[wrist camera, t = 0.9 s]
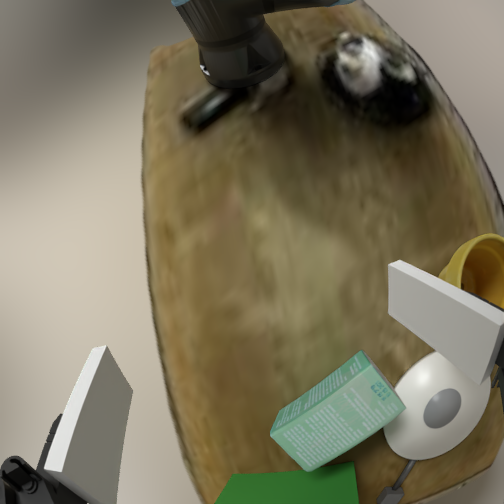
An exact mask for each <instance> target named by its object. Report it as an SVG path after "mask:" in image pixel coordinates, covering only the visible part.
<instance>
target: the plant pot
mask: <svg viewBox="0 0 504 504" xmlns="http://www.w3.org/2000/svg"><path fill="white" fill-rule="evenodd" d="M438 278H439V279H441V280H443V281H445V282H447V283H449V284H451V285H453V286H455V287H457V288H459V289H461V286H462V290H464V291H468V292H472V293H475V294H476V295H478V296H480V297H482V299H483V298H484V299H486V300H488V301H489V303H490V302H492V303H494V304H495V305H497V306H499V307H501V308H503V309H504V238H503V237H501V236H499V235H497V234H491V233H488V234H483V235H480V236H478V237H476V238H473V239H471V240H469V241H468V242H466V243H464V244H463V245H462V246H460V247H459V248H458V249H457V251H456V252H455V253H454V255H453V257H452V258H451V260H450V263H449V264H448V265H447V266H446V267H445V268H444V269H443V270H442V271H441V272H440V274H439V276H438Z"/></svg>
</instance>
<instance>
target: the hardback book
mask: <svg viewBox="0 0 504 504" xmlns="http://www.w3.org/2000/svg"><path fill="white" fill-rule="evenodd" d="M214 504H359V500H358V491H357V483H356V475H355V468H354V461H351V462H347V463H342V464H337V465H331V466H326V467H320V468H316V469H315V470H313V471H310V472H307V471H305V470H298V471H288V472H276V473H258V474H232V476H231V478H230V479H229V481H228V483H227V484H226V486H225V488H224V489H223V491H222V492H221V494H220V496H219V497H218V499H217V500H216V502H215V503H214Z"/></svg>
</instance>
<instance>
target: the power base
mask: <svg viewBox="0 0 504 504" xmlns="http://www.w3.org/2000/svg"><path fill="white" fill-rule="evenodd" d="M490 387H491V380H490V376H489V377H488V378H487V379H486V380H485V381H484V382H483V383H482V384H481V385H480V386H479V385H478V384H477V383H475V382H474V381H473V380H472V379H471V378H469V377H468V376H467V375H466V374H465V373H463V372H462V371H461V370H460V369H458V368H457V367H456V366H455V365H453V364H452V363H451V362H450V361H449V360H447V359H446V358H445V357H443V356H442V355H441V354H440V353H438V352H437V351H433V352H431V353H429V354H427V355H426V356H424V357H423V358H421V359H420V360H418V361H417V362H416V363H415V364H413V365H412V366H411V367H410V368H409V369H408V370H407V371H406V372H405V373H404V375H403V376H402V377H401V378H400V379H399V381H398V382H397V383H396V385H395V387H394V390H395V391H396V393H397V394H398V396H399V397H400V399H401V400H402V402H403V403H404V405H405V406H406V409H405V410H404V411H403V412H402V413H400V414H399V415H398V416H397V417H396V418H394V419H393V420H392V421H390V422H389V423H388V424H386V425H385V426H384V427H383V430H384V434H385V437H386V440H387V442H388V444H389V446H390V447H391V449H392V450H393V451H394V452H395V453H397V454H398V455H400V456H402V457H404V458H407V459H410V461H409V463H408V464H407V466H406V467H405V469H404V471H403V472H402V474H401V475H400V477H399V478H398V480H397V481H396V483H395V484H394V486H393V487H385V488H384V490H383V491H382V493H381V494H380V495H379V497H378V498H377V504H397V503H398V502H399V501H400V499H401V498H402V497H403V496H404V492H403V489H402V487H399V486H400V485H401V484H402V482H403V481H404V479H405V478H406V476H407V475H408V473H409V472H410V470H411V469H412V467H413V465H414V464H415V462H416V460H424V459H429V458H433V457H436V456H439V455H441V454H443V453H445V452H447V451H449V450H451V449H452V448H454V447H455V446H457V445H458V444H459V443H460V442H462V441H463V440H464V439H465V438H466V437H467V436H468V435H469V434H470V432H471V431H472V430H473V429H474V428H475V426H476V425H477V423H478V422H479V420H480V419H481V417H482V415H483V413H484V411H485V408H486V406H487V403H488V399H489V395H490Z"/></svg>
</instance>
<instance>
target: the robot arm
mask: <svg viewBox="0 0 504 504" xmlns="http://www.w3.org/2000/svg"><path fill="white" fill-rule="evenodd" d="M354 1H356V0H172V4H173V6H175V7H176V9H177V10H178V12H179V14H180V15H181V17H182V18H183V20H184V22H185V23H186V25H187V27H188V28H189V30H190V32H191V33H192V34H193V37H194V38H195V40H196V42H197V43H198V50H199V60H200V67H201V70H202V72H203V74H204V76H205V77H206V79H207V80H208V81H209V82H210V83H211V84H213V85H215V86H218V87H222V88H241V87H247V86H251V85H254V84H257V83H259V82H261V81H264V80H266V79H267V78H269V77H271V76H272V75H273V74H275V73H276V72H277V71H278V70H279V69H280V67H281V66H282V64H283V62H284V59H285V53H284V49H283V45H282V43H281V41H280V39H279V38H278V37H277V35H276V34H275V33H274V32H273V30H272V29H271V28H270V27H269V25H268V24H267V23H266V22H265V19H264V15H263V14H267V13H273V12H279V11H285V10H293V9H301V8H311V7H323V6H324V7H330V6H331V7H332V6H335V5H344V4H350V3H352V2H354ZM388 275H389V307H388V314H389V315H391V316H392V317H393V318H395V319H396V320H397V321H399V322H400V323H401V324H402V325H404V326H405V327H406V328H408V329H409V330H410V331H412V332H413V333H414V334H415V335H417V336H418V337H419V338H421V339H422V340H423V341H424V342H426V343H427V344H428V345H430V346H431V347H432V348H433V349H435V350H436V351H437V352H438V353H440V354H441V355H442V356H443V357H445V358H446V359H447V360H449V361H450V362H451V363H452V364H453V365H455V366H456V367H457V368H458V369H460V370H461V371H462V372H463V373H465V374H466V375H467V376H468V377H469V378H471V379H472V380H473V381H474V382H475V383H477V384H478V385H479V386H480V385H481V384H482V383H483V382H484V381H485V380H486V379H487V378H488V377H489V376H490V375H491V372H492V370H493V367H494V365H495V364H497V365H498V366H499V368H498V370H497V373H496V375H495V377H494V380H493V382H492V387H491V388H494V386H495V384H496V382H497V380H499V382H498V385H497V387H500V391H501V397H502V404H503V412H504V309H503V308H501V307H499V306H497V305H495V304H494V303H492V302H490V303H489V301H488V300H486V299H484V298H483V299H482V297H480V296H478V295H476V294H475V293H472V292H468V291H464V290H461V289H459V288H457V287H455V286H453V285H451V284H449V283H447V282H445V281H443V280H441V279H439V278H437V277H435V276H433V275H431V274H429V273H427V272H425V271H423V270H420V269H418V268H416V267H414V266H412V265H410V264H408V263H406V262H403V261H401V260H398V261H396V262H393V263H391V264H388ZM132 394H133V390H132V388H131V387H130V385H129V383H128V382H127V380H126V378H125V377H124V375H123V374H122V372H121V370H120V368H119V367H118V365H117V363H116V361H115V360H114V358H113V356H112V354H111V353H110V351H109V349H108V347H107V345H106V346H102V347H96V348H93V349H92V351H91V353H90V355H89V357H88V359H87V361H86V363H85V365H84V367H83V370H82V372H81V374H80V376H79V378H78V380H77V383H76V385H75V387H74V389H73V392H72V394H71V397H70V399H69V401H68V403H67V406H66V408H65V411H64V413H63V414H60V415H59V416H58V417H57V419H56V420H55V421H54V422H53V424H52V427H51V429H50V432H49V433H50V435H48V437H47V440H46V441H47V443H45V445H44V448H43V451H42V454H41V457H40V460H39V463H38V466H37V469H36V470H34V469H33V468H32V467H31V466H30V465H29V464H28V463H27V462H26V461H24V460H23V459H22V458H21V457H19V456H11V457H9V458H8V459H6V460H5V461H4V463H3V464H2V466H1V469H0V504H87V503H89V504H116V502H117V491H118V481H119V473H120V464H121V457H122V450H123V444H124V437H125V431H126V425H127V420H128V414H129V409H130V404H131V399H132Z"/></svg>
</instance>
